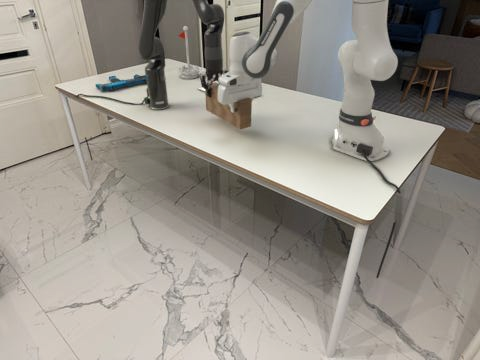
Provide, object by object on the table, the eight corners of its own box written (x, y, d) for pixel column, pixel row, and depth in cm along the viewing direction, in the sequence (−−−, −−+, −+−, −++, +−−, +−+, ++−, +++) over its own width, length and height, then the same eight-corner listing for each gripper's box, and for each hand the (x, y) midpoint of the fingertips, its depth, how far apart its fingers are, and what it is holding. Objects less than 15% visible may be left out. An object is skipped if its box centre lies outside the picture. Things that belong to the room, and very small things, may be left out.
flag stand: (196, 72, 226) (193, 23, 210) (202, 77, 216) (198, 27, 200) (177, 74, 223) (172, 25, 206) (181, 80, 212) (177, 28, 196)
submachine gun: (140, 69, 224) (158, 75, 207) (141, 74, 225) (159, 81, 209) (88, 79, 205) (103, 86, 188) (89, 85, 207) (105, 93, 190)
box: (251, 126, 143) (251, 99, 137) (240, 129, 140) (240, 102, 134) (216, 107, 162) (215, 82, 155) (206, 110, 159) (204, 84, 152)
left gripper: (223, 53, 150) (223, 90, 160) (194, 57, 143) (197, 96, 152) (232, 56, 145) (233, 94, 154) (203, 61, 138) (205, 101, 147)
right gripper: (256, 70, 140) (255, 102, 148) (214, 79, 130) (216, 113, 138) (266, 73, 136) (264, 106, 143) (223, 83, 126) (224, 117, 133)
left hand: (215, 95), depth 153 cm, fingers closed on box, 5 cm apart
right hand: (240, 109), depth 141 cm, fingers open, 6 cm apart
